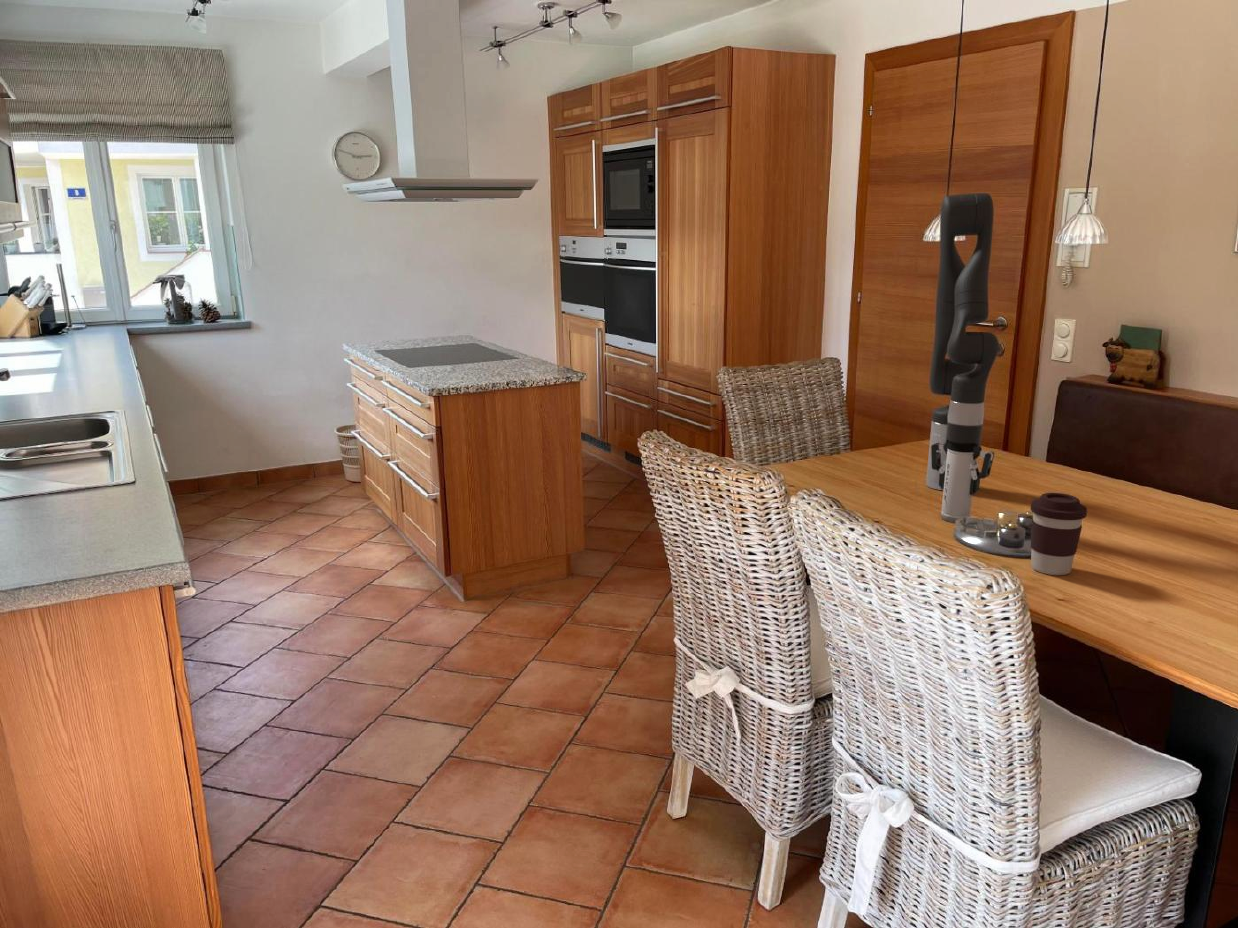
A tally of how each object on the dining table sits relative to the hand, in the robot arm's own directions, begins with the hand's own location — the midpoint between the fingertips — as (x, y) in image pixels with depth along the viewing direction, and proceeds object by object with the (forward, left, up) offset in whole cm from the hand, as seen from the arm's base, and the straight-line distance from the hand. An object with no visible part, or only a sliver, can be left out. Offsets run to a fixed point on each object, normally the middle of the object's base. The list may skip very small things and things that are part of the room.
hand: (958, 491), depth 208 cm
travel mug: (0, 0, -7) cm, 7 cm away
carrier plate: (+7, +14, -7) cm, 17 cm away
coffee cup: (+18, +27, -7) cm, 33 cm away
